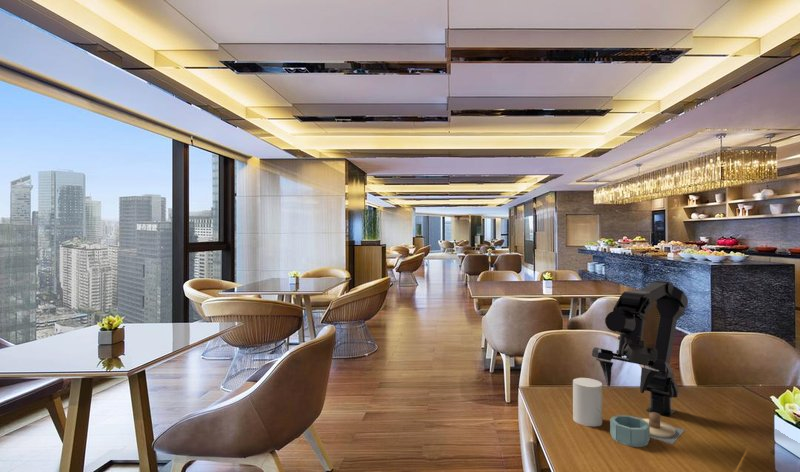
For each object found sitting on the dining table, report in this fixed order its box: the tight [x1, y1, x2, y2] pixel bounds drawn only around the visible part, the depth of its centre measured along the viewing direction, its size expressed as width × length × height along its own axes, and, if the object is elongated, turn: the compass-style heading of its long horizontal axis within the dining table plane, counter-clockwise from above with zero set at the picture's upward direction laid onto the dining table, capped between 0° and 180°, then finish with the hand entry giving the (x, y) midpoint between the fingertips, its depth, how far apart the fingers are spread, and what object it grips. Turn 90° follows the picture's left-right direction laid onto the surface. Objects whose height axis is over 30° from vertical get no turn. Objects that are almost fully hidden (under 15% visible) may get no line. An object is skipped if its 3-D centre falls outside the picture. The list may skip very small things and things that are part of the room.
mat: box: [638, 417, 686, 445], centre depth 124 cm, size 12×12×1 cm
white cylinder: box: [572, 377, 603, 427], centre depth 130 cm, size 8×8×12 cm
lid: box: [643, 412, 675, 438], centre depth 124 cm, size 10×10×4 cm
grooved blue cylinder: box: [609, 414, 651, 448], centre depth 119 cm, size 9×9×5 cm
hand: (625, 389), depth 123 cm, fingers open, 9 cm apart
